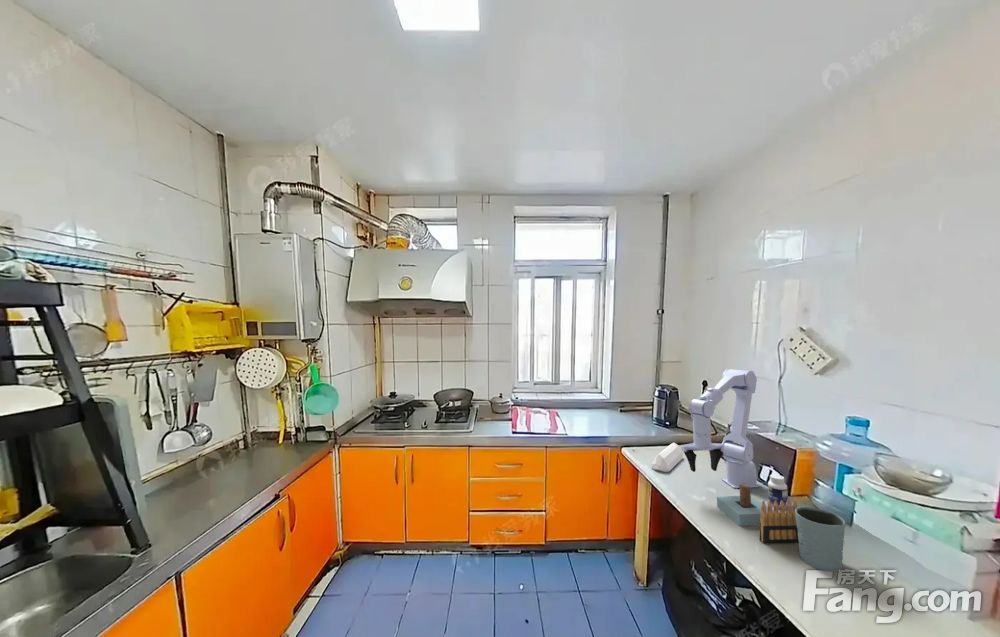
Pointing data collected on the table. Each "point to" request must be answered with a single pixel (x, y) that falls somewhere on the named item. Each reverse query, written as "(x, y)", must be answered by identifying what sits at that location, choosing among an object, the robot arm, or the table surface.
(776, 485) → the pill bottle
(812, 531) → the grey plant pot
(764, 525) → the ammunition clip
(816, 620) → the table surface
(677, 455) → the crystal
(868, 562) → the table surface
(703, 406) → the robot arm
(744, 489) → the walnut peg
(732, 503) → the socket block
